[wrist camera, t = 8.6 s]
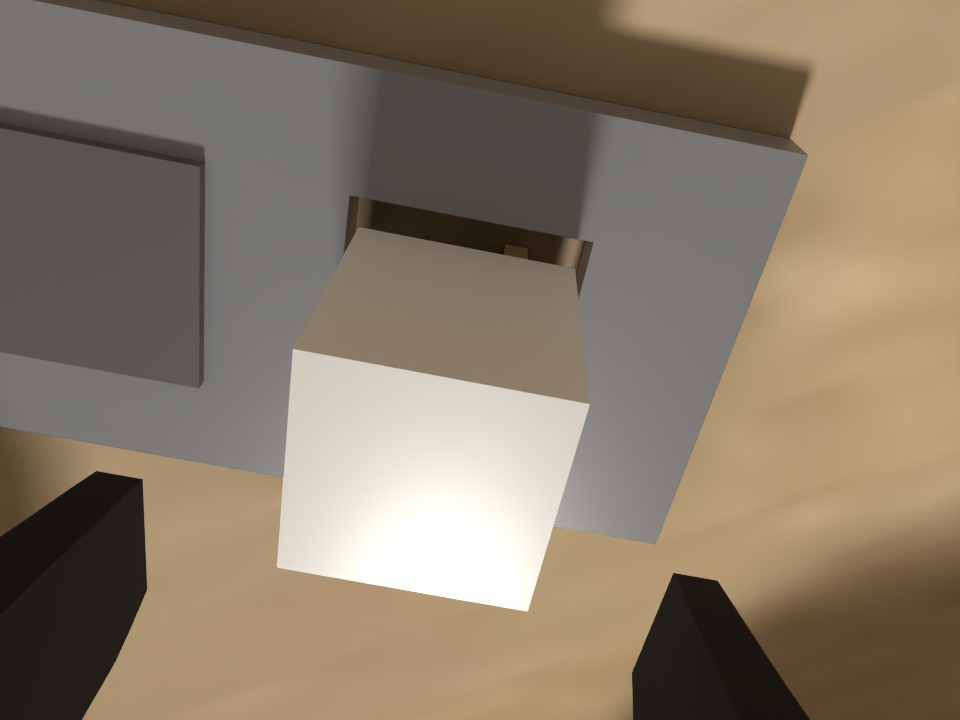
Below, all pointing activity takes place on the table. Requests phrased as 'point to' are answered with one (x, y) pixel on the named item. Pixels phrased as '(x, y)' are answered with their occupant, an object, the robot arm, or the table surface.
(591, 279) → the socket strip
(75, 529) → the robot arm
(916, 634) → the table surface
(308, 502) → the plug
